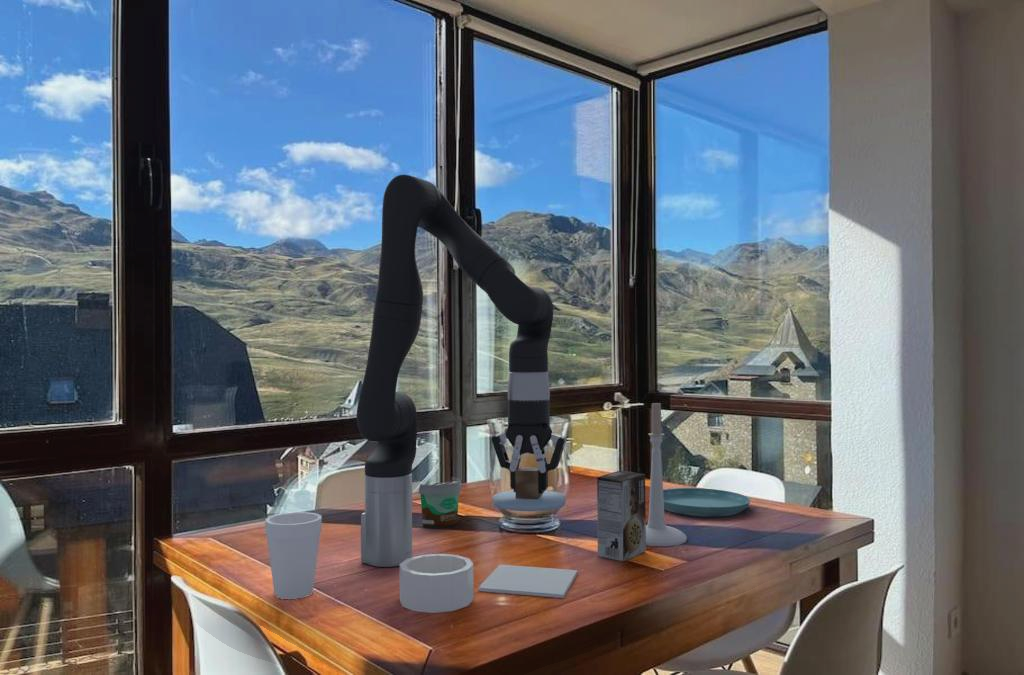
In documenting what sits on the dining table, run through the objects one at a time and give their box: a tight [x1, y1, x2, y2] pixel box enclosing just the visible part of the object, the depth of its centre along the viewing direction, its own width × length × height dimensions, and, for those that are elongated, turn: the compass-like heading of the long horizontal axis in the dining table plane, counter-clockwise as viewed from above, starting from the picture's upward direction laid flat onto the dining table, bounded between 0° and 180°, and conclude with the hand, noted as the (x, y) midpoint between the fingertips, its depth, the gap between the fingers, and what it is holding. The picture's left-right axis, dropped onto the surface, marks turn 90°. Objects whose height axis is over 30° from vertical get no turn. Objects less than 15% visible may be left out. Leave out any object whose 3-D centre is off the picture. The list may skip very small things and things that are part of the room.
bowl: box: [399, 553, 475, 614], centre depth 130 cm, size 12×12×6 cm
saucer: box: [663, 487, 751, 518], centre depth 199 cm, size 24×24×3 cm
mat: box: [478, 564, 578, 599], centre depth 139 cm, size 15×14×1 cm
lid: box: [492, 466, 566, 512], centre depth 139 cm, size 13×13×6 cm
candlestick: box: [646, 401, 688, 547], centre depth 169 cm, size 13×13×30 cm
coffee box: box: [596, 470, 647, 562], centre depth 157 cm, size 9×6×16 cm
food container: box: [417, 476, 463, 529], centre depth 182 cm, size 12×6×10 cm, turn 143°
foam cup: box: [264, 511, 323, 600], centre depth 133 cm, size 10×9×13 cm
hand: (529, 491), depth 139 cm, fingers closed on lid, 4 cm apart
